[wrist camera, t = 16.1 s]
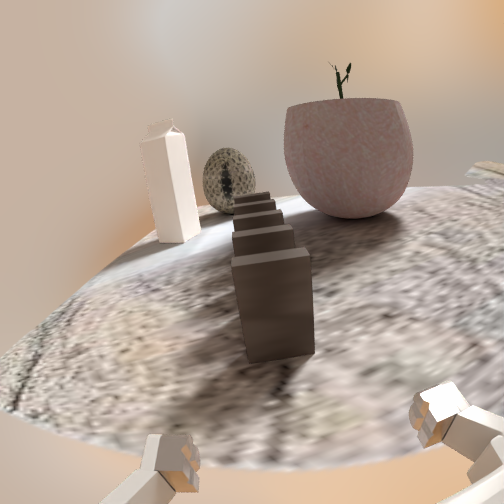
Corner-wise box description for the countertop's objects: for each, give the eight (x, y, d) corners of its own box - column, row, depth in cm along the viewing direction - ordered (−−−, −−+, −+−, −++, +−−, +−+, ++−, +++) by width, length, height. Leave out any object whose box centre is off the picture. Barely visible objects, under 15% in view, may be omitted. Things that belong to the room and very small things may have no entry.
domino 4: (297, 304, 29) (289, 224, 26) (300, 312, 27) (293, 229, 25) (245, 311, 29) (232, 232, 26) (246, 320, 27) (231, 237, 25)
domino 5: (310, 341, 23) (304, 246, 20) (314, 353, 22) (310, 255, 19) (248, 350, 23) (231, 257, 20) (249, 363, 22) (231, 266, 19)
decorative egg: (212, 210, 75) (202, 151, 70) (259, 204, 74) (250, 144, 69) (204, 222, 64) (192, 153, 59) (258, 215, 63) (249, 144, 58)
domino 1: (275, 244, 46) (268, 191, 43) (276, 247, 44) (269, 193, 41) (242, 248, 46) (233, 196, 43) (242, 252, 44) (233, 198, 41)
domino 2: (280, 258, 40) (273, 199, 37) (282, 263, 39) (275, 201, 36) (242, 264, 40) (233, 204, 37) (243, 269, 39) (233, 207, 36)
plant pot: (273, 233, 50) (248, 54, 40) (309, 201, 70) (293, 76, 60) (420, 236, 40) (403, 35, 30) (410, 201, 60) (398, 68, 50)
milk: (177, 233, 60) (157, 124, 52) (202, 232, 58) (182, 117, 50) (158, 243, 55) (136, 126, 47) (184, 243, 52) (162, 118, 45)
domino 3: (287, 277, 34) (280, 209, 32) (289, 284, 33) (282, 212, 30) (243, 284, 34) (232, 215, 32) (244, 290, 33) (232, 219, 30)
